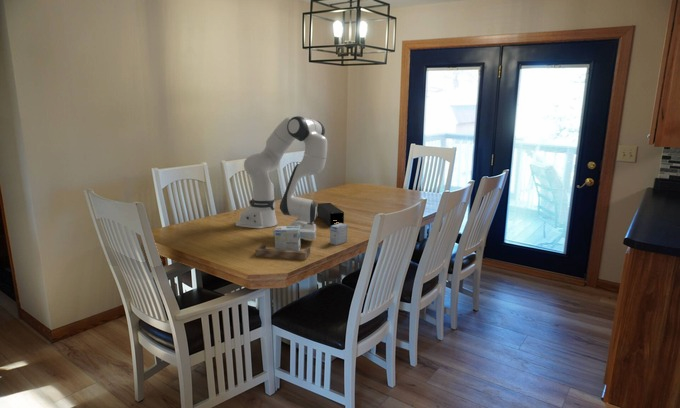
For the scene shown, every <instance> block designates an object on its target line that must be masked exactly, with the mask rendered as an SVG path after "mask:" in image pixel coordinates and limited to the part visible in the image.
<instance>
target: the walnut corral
mask: <svg viewBox="0 0 680 408" xmlns="http://www.w3.org/2000/svg"><path fill="white" fill-rule="evenodd" d="M266 247H267V246H266V244H263V243H262V244H261V245H260V246H258V247H257V248H256V249H255V256H256V257H259V258H261V257H262V258H273V259H274V258H275V259H285V260H286V259H288V260H300V261H305V260H307V259H308V258H309V257H310V255H311V247H309V246H307V247H305V249H304V250H303V251H301V250H300V251H289V250H275V248H273V249H272V248H266Z"/></svg>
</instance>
